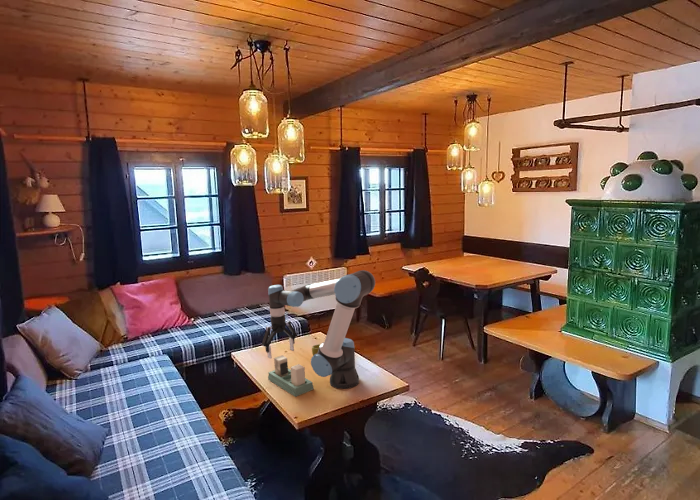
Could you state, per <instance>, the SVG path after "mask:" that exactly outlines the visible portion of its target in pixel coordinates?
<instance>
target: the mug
mask: <svg viewBox="0 0 700 500" xmlns="http://www.w3.org/2000/svg"><path fill="white" fill-rule="evenodd" d="M320 344H321V343H319V344H314V345H313V346H311V353H312V357H313V356H314V355H315V354H317V353H318V350H319V347H320Z"/></svg>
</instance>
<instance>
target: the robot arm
mask: <svg viewBox="0 0 700 500" xmlns="http://www.w3.org/2000/svg"><path fill="white" fill-rule="evenodd" d="M375 286H376V279H375V276H374V275H373V273H371V272H370V271H368V270H366V269H365V270H364V269H362V270H358V271H355V272H353V273H350V274H345V275H343V276H341V277H340V278H335V279H331V280H327V281H326V280H324V281H322V282H320V281H319V282H317V283H310V284H309V283H308V284H305V285H303V286H301V287H300V286H299V287H297V288H295V289H291V290H285V289H284V287H283V285H281V284H274V285H270V286H268V288H267V291H268V292H267V293H268V294H267V296H268V303H269V314H270V324H271V325H270V326H265V332H264V334H263V335H264V336H263V339H262V341H261V344H260V345H261V346H262V347H265V348H264V349H265V352H266V353H267V358H268V359H272V348H271V347H272V346H271V343H272V341H273V339H274V338H275V336H276V335H277V334H279V333H283V332H284V333H285V334H286V335H287V336H288V337H289V338H288V342H289V351H292V352H294V351H295V347H294V346H295V339H296V337H298V333H297V332H296V330H295V329H294V327H293V325H292V321H290V320H286V311H285V306H287V307H293V308H296V307H297V308H299V307H300V306H301V305H302V304H303V303H304V302H306V301H308V300H314V299H319V298H324V297H331V296H335V301H336V306H335V308H334V312H333V314H332V317H331V321H330V323H329V327H328V331H327V332H326V333H327V334H326V336H325V338H324V339H325V340H324V341H323V342H320V343H319V344H320V347H319V350H318V353H317V354H315V355H314V356H313V355H312V357H311V359H310V365H311V368H312V370H313V372H314V373H315V374H316V375H317V376H319V377H322V378H326V377H329V385H330V386H331V387H332V388H336V389H341V390H343V389H345V390H347V389H351V388H354V387H356V386H358V385H359V384H360V377H359V375H358V372H357V368H356V358H355V357H356V356H355V354H356V352H355V348H356V346H355V342H354V340H353V339H351V338H348V337H346V335H347V333H348V329H349V327H350V324H351V321H352V318H353V315H354V312H355V309H357V308H359V307H360V306H361V303H362V300H363V297H364V296H367V295H369V294H371V293H372V292H373V291H374V289H375ZM286 326H287V327H288V328H286ZM288 329H289V330H288Z"/></svg>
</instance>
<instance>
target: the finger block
mask: <svg viewBox="0 0 700 500" xmlns="http://www.w3.org/2000/svg"><path fill="white" fill-rule="evenodd" d="M273 361H274V370H275V374H276V375H278V376H279V377H283V376H286V375H288V369H289V364H288V357H286V356H284V355H279V356H276V357H274V358H273Z"/></svg>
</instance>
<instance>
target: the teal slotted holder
mask: <svg viewBox="0 0 700 500" xmlns="http://www.w3.org/2000/svg"><path fill="white" fill-rule="evenodd" d="M267 379H268V381H269V382H272V383H273V384H275V385H276V386H277V387H279V388H280V389H282V390H284V391H285V392H287V393H288V394H290V396H293V397H295V398H296V397H298V396H301V395H303V394H306V393H308V392H311V391H313V390H315V389H314V385H313V384H314V383H313V381H311V380H310V379H308V378H306V371H305V366H304V365H301V364H300V363H298V364H295V365H293V366H290V368H288V375H286V376H283V377H279V376H278V375H276V374H275V369H274V370H272V371H269V372H268V376H267Z"/></svg>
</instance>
